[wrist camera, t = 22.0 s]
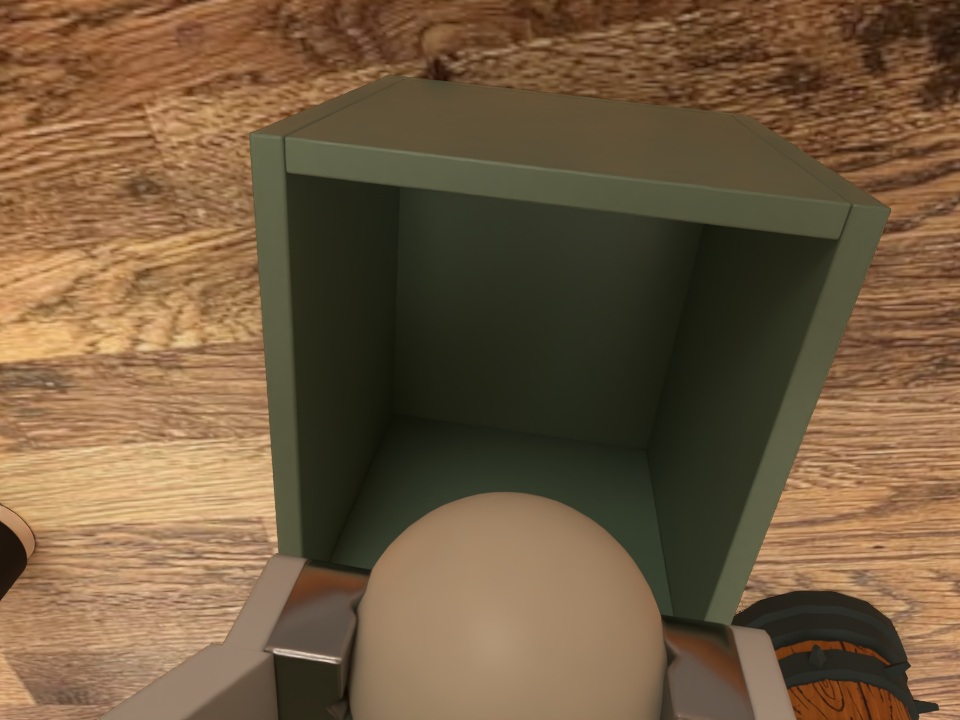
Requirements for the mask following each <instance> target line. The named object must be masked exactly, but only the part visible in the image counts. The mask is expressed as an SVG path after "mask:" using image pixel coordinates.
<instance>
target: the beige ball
mask: <svg viewBox="0 0 960 720" xmlns="http://www.w3.org/2000/svg"><path fill="white" fill-rule="evenodd" d="M355 616H356V618H357V631H356V636H355V642H354V647H353V653H352V660H351V669H350V675H349V678H348V681H347V689H348V695H349V704H350V709H351V714H352V717H353V720H660V714H661V708H662V697H663V683H664V678H665V675H666V672H667V669H668V664H667V653H666V648H665V644H664V640H663V626H662V622H661V615H660V612H659V609H658V607H657V604H656V601H655V599H654V596H653V594H652V591H651V589H650V587H649V585H648V583H647V582H646V580H645V578H644V576H643V574H642V573H641V571H640V570H639V568H638V566H637V565H636V563H635V562H634V560H633V559H632V558H631V557H630V555H629V554H628V553H627V551H626V550H625V549H624V548H623V547H622V546H621V545H620V544H619V543H618V542H617V541H616V540H615V539H614V538H613V537H612V536H611V535H610V534H609V533H608V532H607V531H606V530H605V529H604V528H603V527H601V526H600V525H599V524H597V523H596V522H594V521H593V520H592V519H590V518H589V517H587V516H585V515H584V514H582V513H580V512H578V511H577V510H575V509H573V508H571V507H569V506H567V505H565V504H562V503H560V502H558V501H555V500H551V499H548V498H545V497H542V496H537V495H532V494H527V493H517V492H492V493H483V494H477V495H473V496H469V497H465V498H462V499H459V500H456V501H453V502H451V503H448V504H445V505H443V506H441V507H439V508H437V509H435V510H433V511H431V512H429V513H428V514H426V515H425V516H423V517H422V518H420V519H419V520H418V521H416V522H415V523H413V524H412V525H410V526H409V527H408V528H407V529H406V530H405V531H404V532H403V533H402V534H400V535H399V536H398V537H397V538H396V539H395V540H394V541H393V542H392V543H391V545H390V546H389V547H388V548H387V549H386V550H385V552H384V553H383V554H382V556H381V557H380V558H379V560H378V561H377V563H376V564H375V566H374V567H373V569H372V572H371V576H370V579H369V581H368V585H367V589H366V592H365V594H364V596H363V598H362V600H361V601H360V603H359V606H358V609H357V611H356V614H355Z"/></svg>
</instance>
